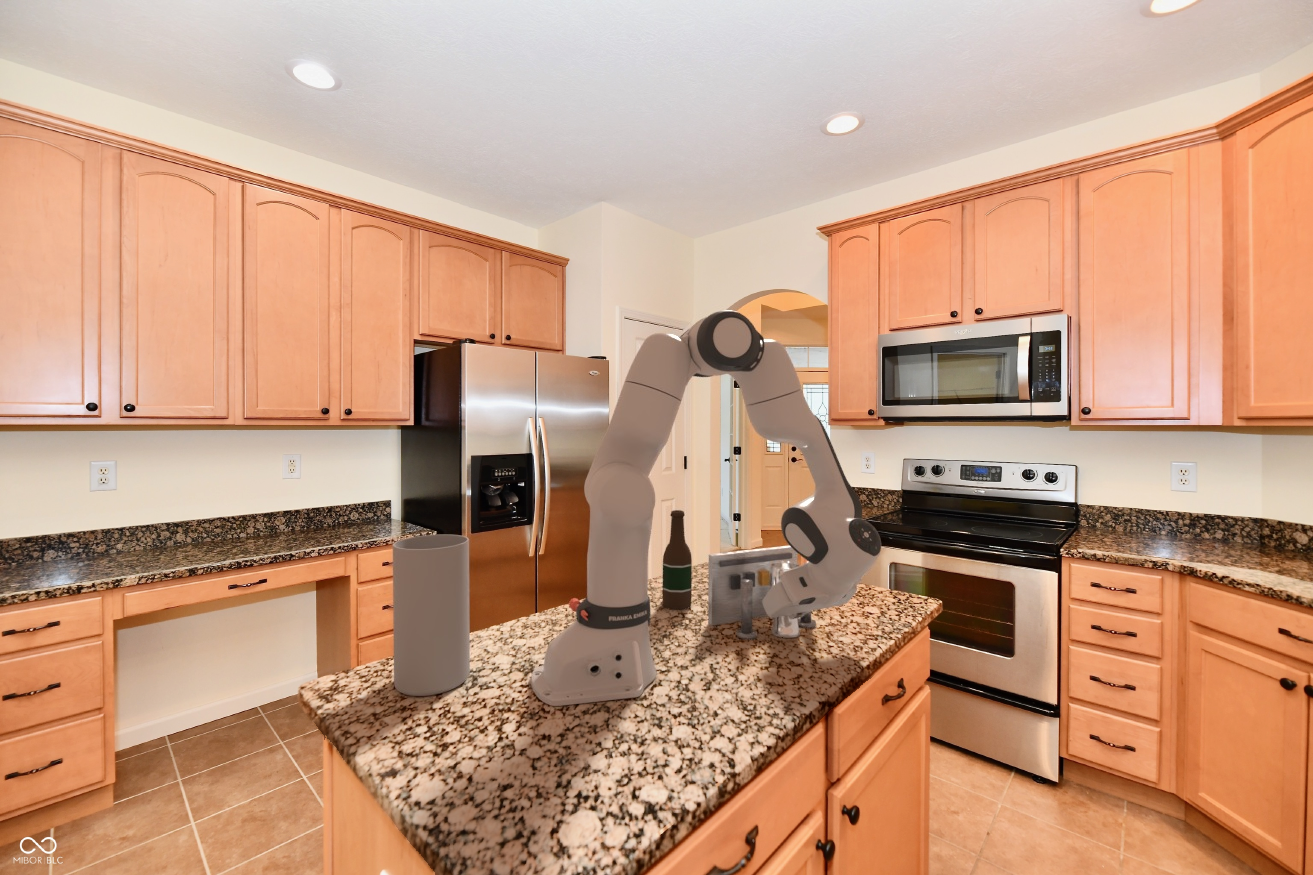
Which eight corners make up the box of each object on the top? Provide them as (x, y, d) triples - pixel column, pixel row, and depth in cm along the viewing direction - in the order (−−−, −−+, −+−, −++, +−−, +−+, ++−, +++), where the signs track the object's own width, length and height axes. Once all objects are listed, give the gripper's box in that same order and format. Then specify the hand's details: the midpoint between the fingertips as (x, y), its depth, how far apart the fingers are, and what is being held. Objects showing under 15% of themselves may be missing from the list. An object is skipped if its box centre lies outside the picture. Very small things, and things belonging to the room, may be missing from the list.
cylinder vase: (484, 675, 100) (483, 539, 99) (422, 705, 89) (421, 553, 89) (441, 659, 107) (440, 531, 106) (379, 685, 96) (377, 543, 96)
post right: (804, 629, 123) (804, 576, 123) (791, 623, 127) (792, 571, 127) (819, 626, 125) (820, 574, 124) (807, 620, 129) (807, 569, 128)
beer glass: (789, 641, 116) (789, 570, 116) (762, 632, 121) (762, 564, 121) (808, 633, 120) (808, 565, 120) (782, 625, 126) (782, 559, 126)
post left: (743, 640, 116) (744, 584, 116) (732, 633, 120) (732, 579, 120) (761, 637, 118) (761, 582, 118) (749, 630, 122) (749, 577, 122)
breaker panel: (713, 627, 124) (714, 556, 124) (708, 623, 127) (708, 554, 126) (799, 612, 134) (800, 547, 134) (792, 609, 136) (793, 545, 136)
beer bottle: (657, 601, 142) (658, 509, 141) (686, 599, 144) (686, 507, 143) (667, 611, 134) (667, 514, 134) (697, 608, 137) (697, 512, 136)
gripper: (856, 561, 115) (825, 595, 124) (775, 573, 107) (748, 608, 116) (873, 588, 111) (839, 621, 120) (789, 602, 103) (760, 636, 112)
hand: (794, 615), depth 118 cm, fingers closed, pressing on beer glass
